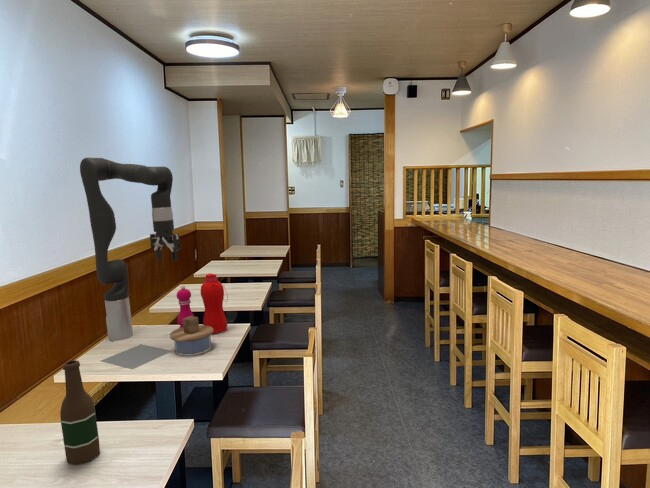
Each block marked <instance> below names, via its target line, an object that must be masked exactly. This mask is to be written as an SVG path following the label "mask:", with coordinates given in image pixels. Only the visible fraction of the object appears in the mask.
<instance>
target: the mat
mask: <svg viewBox="0 0 650 488" xmlns="http://www.w3.org/2000/svg"><path fill="white" fill-rule="evenodd" d="M172 352H173V350H171V349H166V348H165V349H164V348H162V347H157V346H156V347H155V346H152V345H147V344H142V343H141V344H138V345H134V346H133V347H130V348H127V349H126V350H123V351H121V352H118V353H116V354H114V355H111V356H109V357H106V358H104V359H101V360H100V362H102V363H106V364H110V365H113V366H118V367H120V368H121V367H123V368H126V369H130V370H135V369H136V368H139V367H141V366H143V365H145V364H147V363H150V362H152V361H154V360H156V359H158V358H160V357H163V356H164V355H167V354H169V353H172Z"/></svg>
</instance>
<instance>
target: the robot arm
mask: <svg viewBox="0 0 650 488" xmlns="http://www.w3.org/2000/svg"><path fill="white" fill-rule="evenodd" d="M79 173H80V177H81V181H82V182H81V183H82V185H83V188H84V192H85V196H86V202H87V208H88V214H89V221H90V228H91V233H92V240H93V246H94V254H95V255H94V256H95V259H94V260H95V270H96V277H97V280H98V282H99V283H100V284H101V285H103V286H105V285H110V284H113V286H112V287H111V288H110V289H108V290H107V291H106V292H105V293H104V294H103V296H104V297H103V298H104V305H105V312H106V317H105V322H106V330H107V337H108V340H109V341H111V342H116V341H122V340H127V339H129V338H132V337H133V335H134V330H133V322H132V313H131V304H130V297H129V291H130V286H129V271H128V270H129V269H128V266H127V264H126V262H125V261H124V260H123V259H114V260H109V259H108V254H109V252H108V251H109V249H110V245H111V243H112V240H113V239H114V236H115V233H116V231H117V230H116V229H117V224H116V223H117V222H116V217H115V212H114V210H113V208H112V206H111V205H110V203H109V202H108V201H107V199H106V198H105V197H104V195H103V194H102V191H101V188H100V183H99V182H101V181H103V182H104V181H108V180H109V181H110V180H116V179H117V180H118V179H119V180H123V181H126V182H129V183H137V184H144V185H148V186H153V187H154V186H157V188H156V191H154V192H152V193H151V195H150V201H151V202H150V203H151V218H152V227H153V232H154V233H150V235H149V239H150V240H149V242H150V249H151V250H154V251H155V258H156V261H161V260H163V252H162V248H163V246H167V248H169V250H170V251H171V252H170V254H171V261H172V262H177V261H178V259H179V256H178V255H179V254H178V251H179V250H182V244H181V235H180V234H179V233H176V234H174V230H175V224H174V214H173V209H172V201H171V195H172V189H173V188H172V187H173V180H174V178H173V172H172V171H171V170H170V168H169V167H167V166H146V165H143V164H135V163H121V162H115V161H113V160H109V159H106V158H104V157H84V158H82V159H81V161H80V164H79Z"/></svg>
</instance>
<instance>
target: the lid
mask: <svg viewBox="0 0 650 488" xmlns="http://www.w3.org/2000/svg"><path fill="white" fill-rule="evenodd" d="M212 333H213V328H212V327H210V326H207V325H203V324H200V323H199V317H198V316H195V315H194V316H189V317H187V318H184V319H183V327H182V328H180V327H178V328H177V329H174V330H173V331H171V332H170V334H169V338H170V339H171V340H172V341H180V342H186V341H195V340H199V339H203V338H206V337H208V336H210V335H213V334H212Z"/></svg>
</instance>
